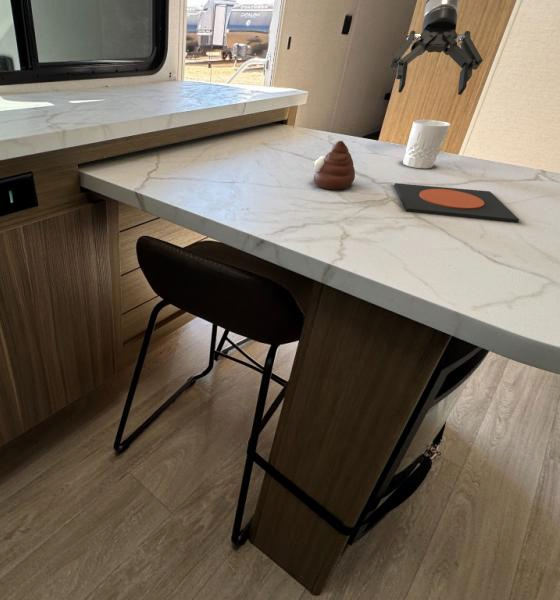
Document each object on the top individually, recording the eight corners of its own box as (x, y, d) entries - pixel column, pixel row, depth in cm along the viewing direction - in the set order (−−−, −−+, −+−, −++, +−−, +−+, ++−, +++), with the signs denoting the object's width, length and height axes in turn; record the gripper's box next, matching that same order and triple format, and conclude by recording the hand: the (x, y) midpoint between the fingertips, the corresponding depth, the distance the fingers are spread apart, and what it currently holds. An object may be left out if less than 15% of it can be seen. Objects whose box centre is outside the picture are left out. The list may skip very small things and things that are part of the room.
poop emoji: (346, 193, 86) (358, 147, 81) (305, 186, 90) (314, 142, 85) (356, 181, 93) (368, 137, 88) (318, 175, 97) (327, 133, 92)
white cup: (435, 163, 106) (451, 121, 100) (434, 171, 100) (450, 127, 95) (401, 159, 109) (414, 118, 104) (398, 166, 103) (412, 123, 98)
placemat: (488, 194, 86) (490, 189, 86) (518, 222, 73) (520, 217, 73) (394, 185, 91) (395, 181, 90) (405, 211, 78) (407, 206, 78)
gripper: (487, 31, 108) (480, 102, 104) (383, 30, 115) (373, 97, 111) (503, 5, 101) (497, 80, 97) (392, 6, 107) (381, 77, 104)
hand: (431, 90), depth 104 cm, fingers open, 13 cm apart
